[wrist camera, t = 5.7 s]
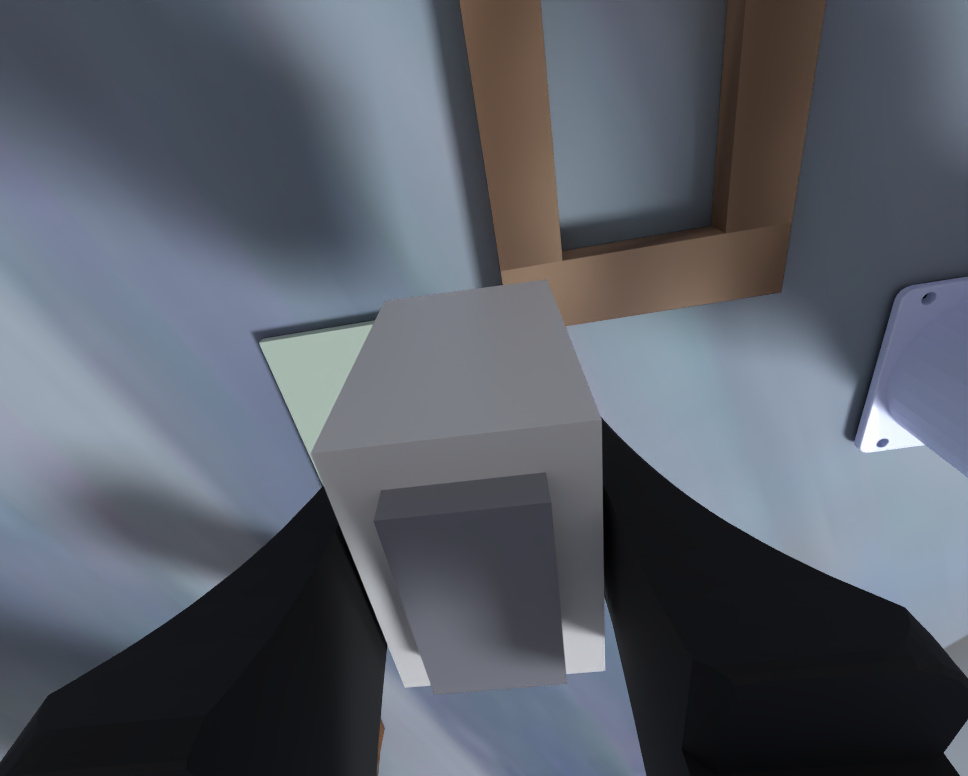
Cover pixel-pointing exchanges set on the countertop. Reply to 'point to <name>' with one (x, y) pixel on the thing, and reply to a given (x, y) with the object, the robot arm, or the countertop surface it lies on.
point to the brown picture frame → (738, 170)
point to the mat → (314, 372)
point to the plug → (473, 489)
